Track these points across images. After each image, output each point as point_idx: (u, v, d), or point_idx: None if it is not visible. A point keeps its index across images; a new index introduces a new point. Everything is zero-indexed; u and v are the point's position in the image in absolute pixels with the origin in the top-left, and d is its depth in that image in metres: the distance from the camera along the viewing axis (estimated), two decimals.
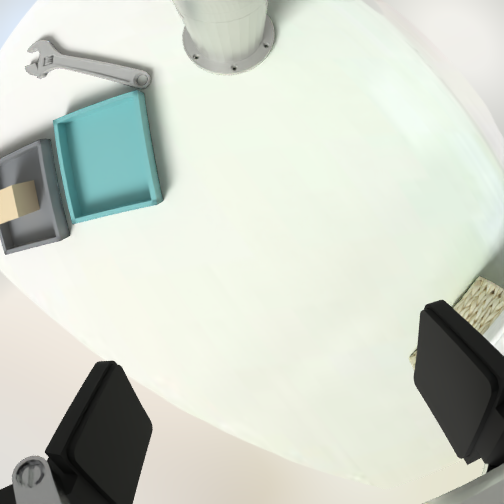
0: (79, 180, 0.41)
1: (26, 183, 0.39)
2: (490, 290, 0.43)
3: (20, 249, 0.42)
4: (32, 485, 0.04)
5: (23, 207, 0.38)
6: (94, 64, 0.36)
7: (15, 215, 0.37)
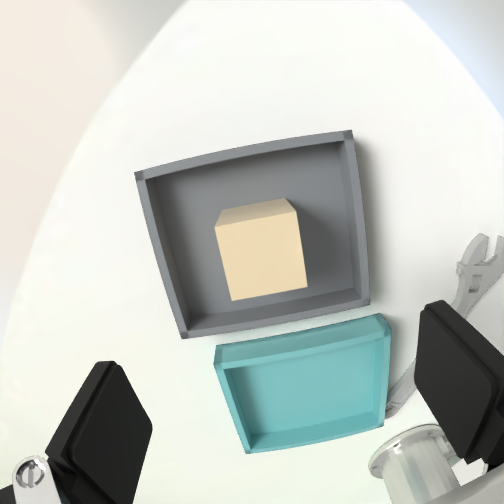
0: None
1: None
2: None
3: (151, 230, 0.23)
4: (32, 485, 0.04)
5: None
6: None
7: (237, 291, 0.20)
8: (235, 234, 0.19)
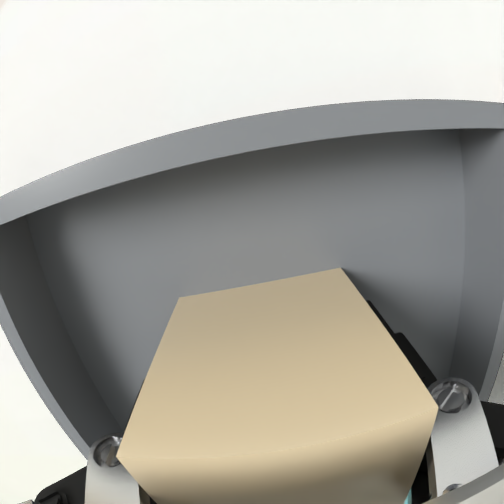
0: None
1: None
2: None
3: (17, 350, 0.08)
4: (110, 462, 0.05)
5: None
6: None
7: None
8: (197, 481, 0.04)
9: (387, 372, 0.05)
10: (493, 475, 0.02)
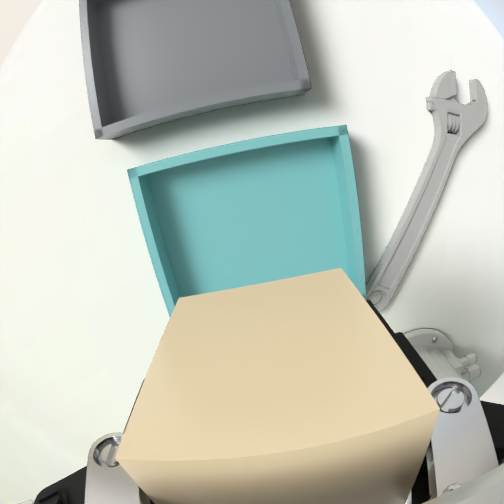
0: (214, 168, 0.24)
1: None
2: None
3: (83, 31, 0.17)
4: (111, 462, 0.05)
5: None
6: (423, 219, 0.25)
7: None
8: (196, 482, 0.04)
9: (388, 373, 0.05)
10: (493, 475, 0.02)
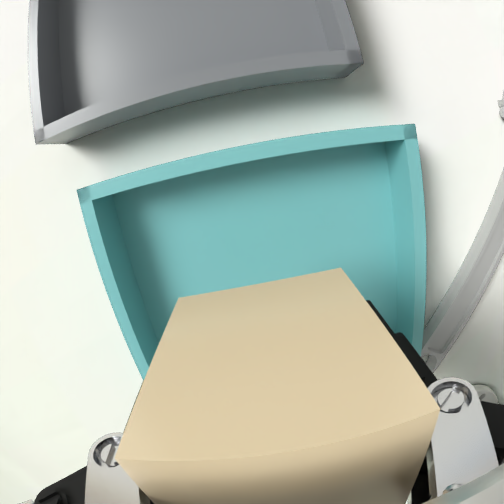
0: (210, 186, 0.16)
1: None
2: None
3: None
4: (110, 462, 0.05)
5: None
6: (490, 263, 0.17)
7: None
8: (196, 483, 0.04)
9: (388, 373, 0.05)
10: (493, 475, 0.02)
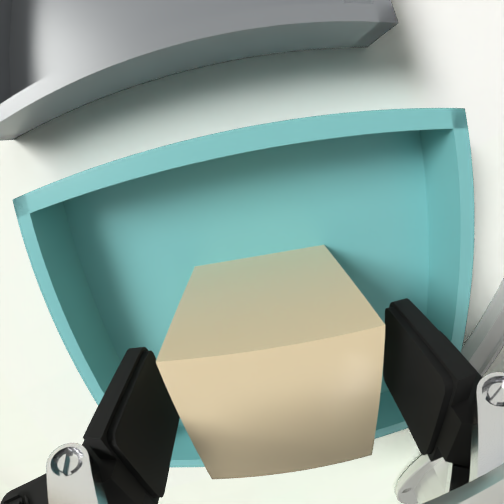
0: (186, 190, 0.11)
1: None
2: None
3: None
4: (67, 471, 0.05)
5: None
6: None
7: (222, 468, 0.08)
8: (214, 381, 0.07)
9: (350, 305, 0.07)
10: (493, 475, 0.02)
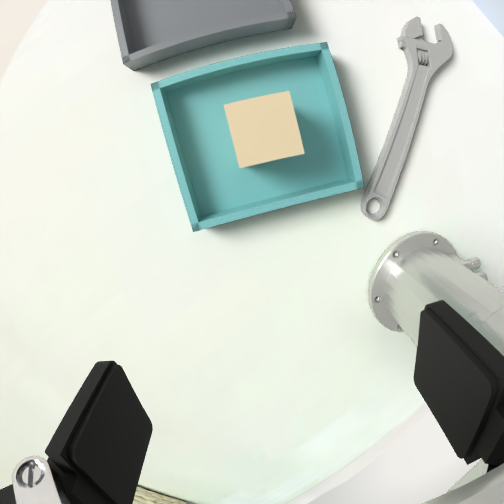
0: (222, 84, 0.26)
1: None
2: None
3: None
4: (32, 485, 0.04)
5: None
6: (406, 134, 0.28)
7: (243, 158, 0.23)
8: (241, 109, 0.22)
9: None
10: (493, 475, 0.02)
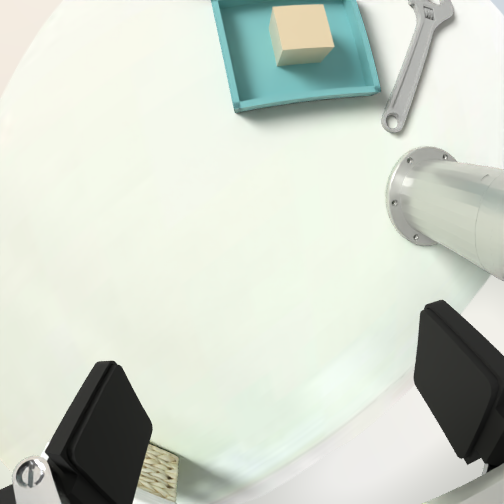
0: (266, 7, 0.28)
1: (322, 57, 0.28)
2: (170, 474, 0.44)
3: None
4: (32, 485, 0.04)
5: (292, 54, 0.26)
6: (417, 67, 0.29)
7: (286, 43, 0.24)
8: (286, 11, 0.23)
9: None
10: (493, 475, 0.02)
